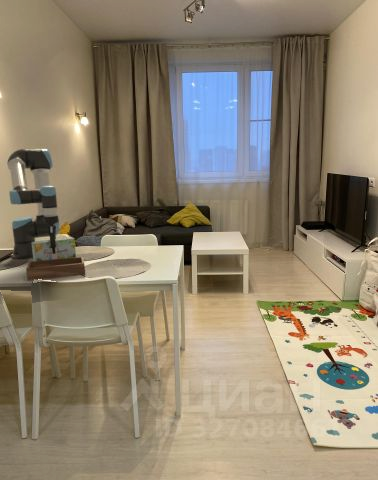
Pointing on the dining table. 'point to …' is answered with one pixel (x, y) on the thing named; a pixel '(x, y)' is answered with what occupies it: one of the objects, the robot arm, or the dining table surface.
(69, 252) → the snack box
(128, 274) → the dining table surface
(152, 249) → the dining table surface
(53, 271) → the dark brown wooden tray
